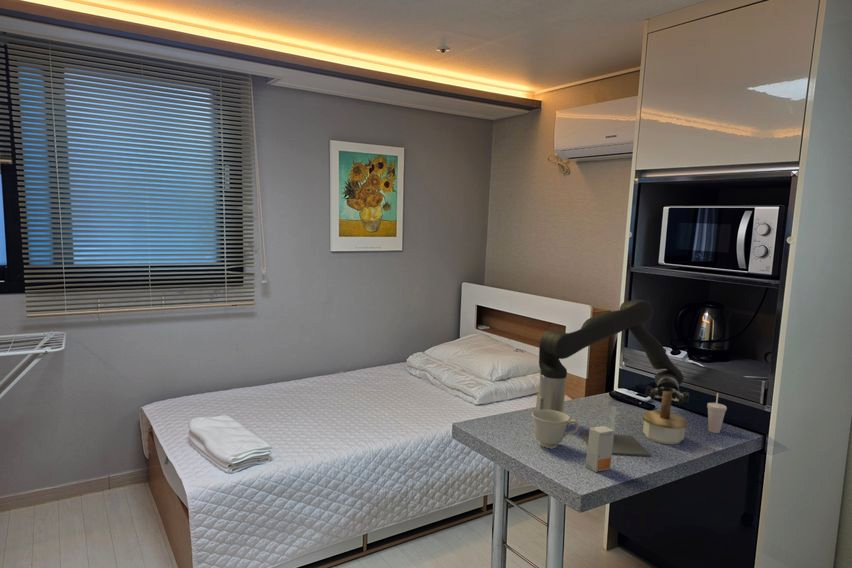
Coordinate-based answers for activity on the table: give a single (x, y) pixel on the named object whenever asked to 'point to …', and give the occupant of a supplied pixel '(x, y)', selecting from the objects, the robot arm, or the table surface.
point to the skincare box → (599, 448)
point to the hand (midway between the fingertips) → (666, 399)
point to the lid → (665, 415)
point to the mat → (624, 445)
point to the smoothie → (715, 416)
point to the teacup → (551, 427)
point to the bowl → (663, 434)
